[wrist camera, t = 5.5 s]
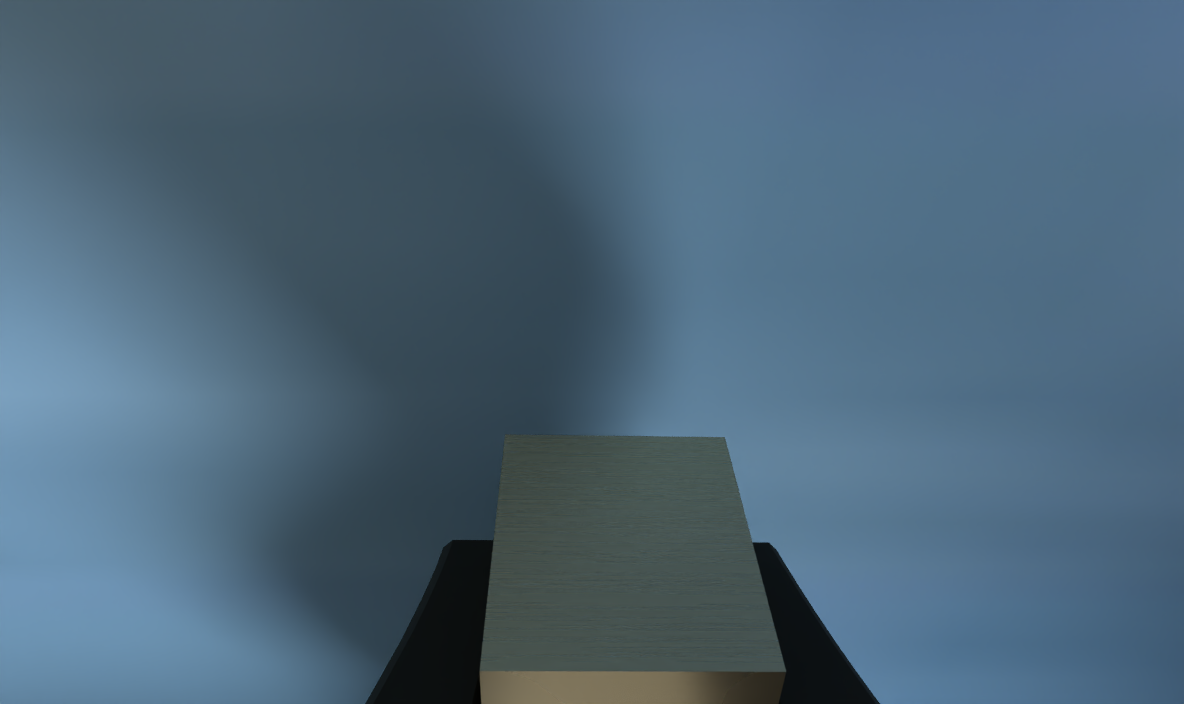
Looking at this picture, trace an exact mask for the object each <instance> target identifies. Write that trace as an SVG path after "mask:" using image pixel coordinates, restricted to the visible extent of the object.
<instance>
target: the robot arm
mask: <svg viewBox="0 0 1184 704" xmlns="http://www.w3.org/2000/svg"><path fill="white" fill-rule="evenodd" d="M493 542H494V540H452V541H451V542H450V543H449V544H447V545H446V546H445V547H443V550H442V553H441V556H440V558H439V561H438V564H437V566H436V569H435V571H434V573H433V575H432V578H431V580H430V582H429V585H428V587H427V589H426V591H425V593H424V596H423V598H422V600H421V602H420V604H419V606H418V608H417V610H416V612H415V614H414V616H413V618H412V620H411V622H410V624H409V626H408V628H407V630H406V632H405V634H404V636H403V638H402V640H401V642H400V643H399V645H398V647H397V649H396V651H395V652H394V654H393V656H392V658H391V660H390V661H389V663H388V665H387V667H386V668H385V670H384V672H383V674H382V675H381V677H380V679H379V681H378V683H377V684H376V686H375V688H374V690H373V691H372V693H371V695H370V697H369V699H368V700H367V702H366V704H481V687H480V663H481V653H482V644H483V635H484V626H485V616H486V607H487V598H488V588H489V579H490V570H491V561H492V551H493ZM752 543H753V547H754V551H755V554H756V558H757V562H758V566H759V570H760V574H761V577H762V581H763V585H764V589H765V593H766V596H767V600H768V604H769V608H770V612H771V615H772V619H773V623H774V627H775V631H776V634H777V638H778V642H779V646H780V650H781V654H782V657H783V661H784V665H785V669H786V675H785V679H784V683H783V687H782V691H781V695H780V699H779V704H880V703H879V702H878V701H877V699H876V698H875V696H874V695H873V694H872V692H871V691H870V690H869V688H868V687H867V686H866V684H865V683H864V681H863V680H862V679H861V677H860V676H859V675H858V673H857V672H856V671H855V669H854V668H853V666H852V665H851V663H850V662H849V661H848V659H847V658H846V656H845V655H844V653H843V652H842V651H841V649H840V648H839V646H838V645H837V643H836V642H835V640H834V639H833V637H832V636H831V634H830V633H829V631H828V630H827V629H826V627H825V626H824V624H823V623H822V621H821V620H820V618H819V617H818V615H817V614H816V612H815V611H814V609H813V608H812V606H811V604H810V603H809V601H808V600H807V598H806V597H805V595H804V594H803V592H802V590H801V589H800V587H799V586H798V584H797V583H796V581H795V579H794V578H793V576H792V575H791V573H790V571H789V570H788V568H787V567H786V565H785V563H784V562H783V560H782V558H781V557H780V555H779V553H778V552H777V550H776V549H775V548H774V547H773V546H772V545H771V544H770V543H755V542H752Z"/></svg>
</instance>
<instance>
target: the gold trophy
mask: <svg viewBox="0 0 1184 704" xmlns="http://www.w3.org/2000/svg"><path fill="white" fill-rule="evenodd" d="M785 675H786V669H785V665H784V661H783V657H782V654H781V650H780V646H779V642H778V638H777V634H776V631H775V627H774V623H773V619H772V615H771V612H770V608H769V604H768V600H767V596H766V593H765V589H764V585H763V581H762V577H761V574H760V570H759V566H758V562H757V558H756V554H755V551H754V547H753V543H752V539H751V535H750V532H749V528H748V524H747V520H746V516H745V513H744V509H743V505H742V501H741V497H740V493H739V490H738V486H737V482H736V478H735V474H734V471H733V467H732V463H731V459H730V455H729V452H728V448H727V444H726V440H725V437H658V436H580V435H505V440H504V449H503V458H502V468H501V477H500V486H499V496H498V505H497V514H496V523H495V533H494V542H493V551H492V561H491V570H490V579H489V588H488V598H487V607H486V616H485V626H484V635H483V644H482V653H481V663H480V687H481V704H779V699H780V695H781V691H782V687H783V683H784V679H785Z"/></svg>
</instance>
